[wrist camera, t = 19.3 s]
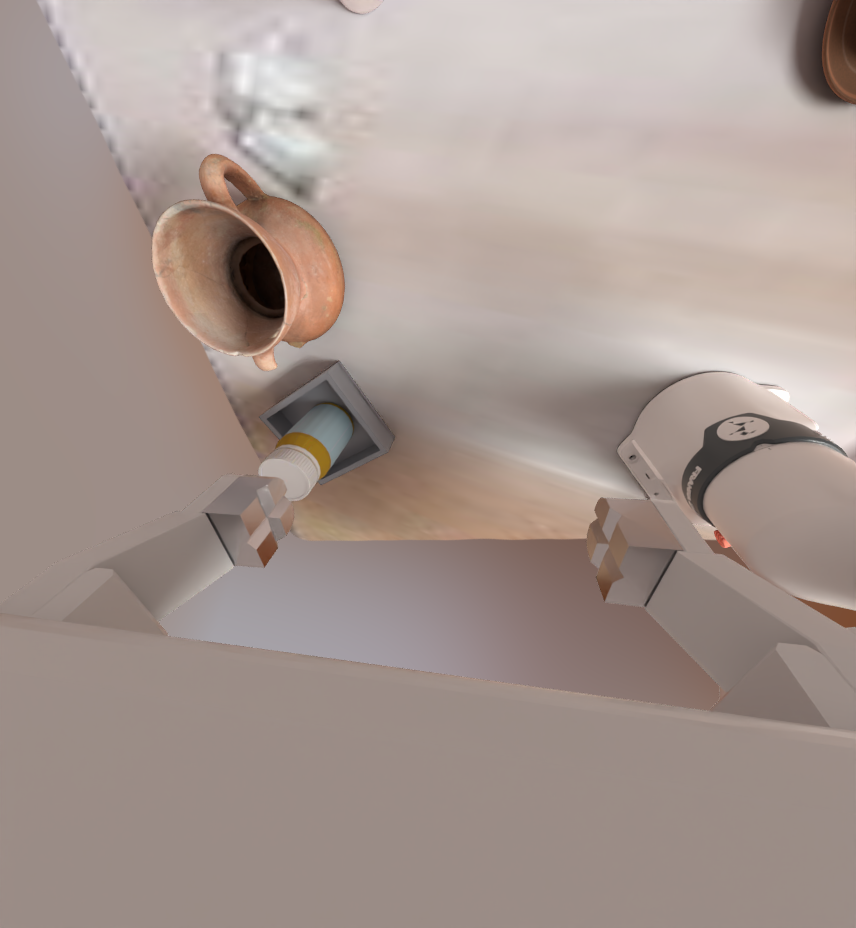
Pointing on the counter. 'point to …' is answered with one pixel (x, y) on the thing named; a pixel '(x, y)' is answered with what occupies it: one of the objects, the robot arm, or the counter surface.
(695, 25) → the counter surface
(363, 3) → the beer glass
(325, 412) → the bottle
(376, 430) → the box
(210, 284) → the ceramic jug
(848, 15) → the cup and saucer
